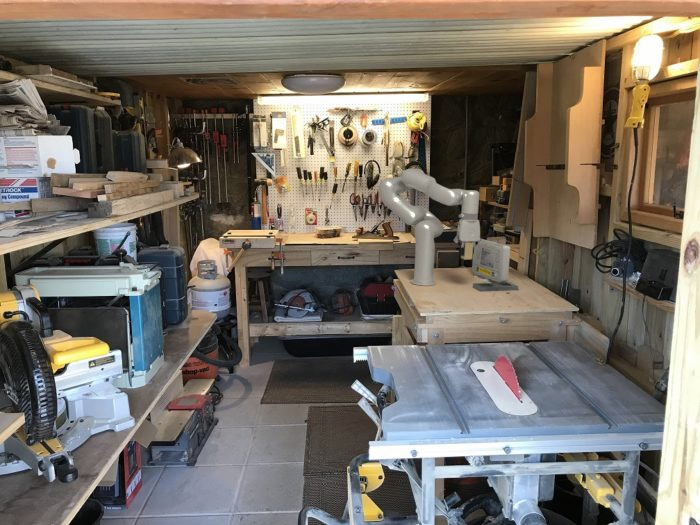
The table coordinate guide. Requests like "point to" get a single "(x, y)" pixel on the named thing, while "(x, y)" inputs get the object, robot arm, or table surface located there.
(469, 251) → the brass block
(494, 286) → the grey flat plate
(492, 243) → the network device
